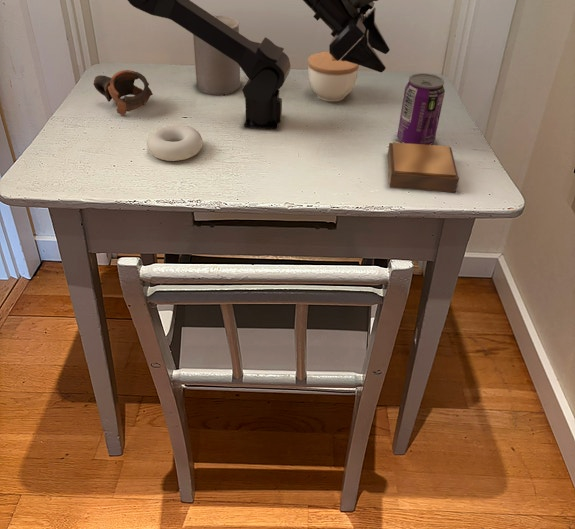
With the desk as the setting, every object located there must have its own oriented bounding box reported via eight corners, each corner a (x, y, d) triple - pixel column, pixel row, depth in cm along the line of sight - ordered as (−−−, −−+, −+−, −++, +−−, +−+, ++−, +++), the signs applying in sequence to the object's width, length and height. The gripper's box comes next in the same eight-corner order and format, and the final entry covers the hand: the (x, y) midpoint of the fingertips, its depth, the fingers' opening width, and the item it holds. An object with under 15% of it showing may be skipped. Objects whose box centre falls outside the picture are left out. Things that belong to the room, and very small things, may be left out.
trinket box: (337, 82, 129) (341, 40, 123) (365, 100, 122) (370, 56, 116) (297, 91, 125) (298, 48, 119) (323, 110, 118) (326, 65, 112)
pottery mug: (156, 97, 122) (157, 72, 114) (144, 133, 118) (144, 109, 111) (100, 81, 120) (97, 54, 113) (86, 117, 116) (82, 91, 109)
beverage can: (433, 152, 105) (447, 89, 98) (395, 147, 106) (405, 85, 99) (434, 134, 111) (446, 74, 103) (397, 130, 112) (407, 70, 104)
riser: (389, 187, 95) (392, 171, 93) (387, 155, 104) (389, 140, 102) (455, 192, 95) (459, 176, 93) (448, 159, 103) (451, 145, 101)
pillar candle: (193, 79, 129) (188, 10, 119) (236, 76, 131) (233, 7, 121) (200, 97, 121) (195, 24, 112) (245, 93, 124) (243, 21, 114)
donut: (141, 145, 105) (157, 169, 98) (138, 127, 103) (154, 151, 96) (192, 134, 109) (211, 157, 102) (190, 117, 106) (210, 139, 99)
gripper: (349, -30, 84) (419, 45, 89) (362, -55, 98) (422, 11, 103) (300, 25, 91) (368, 93, 95) (319, -6, 105) (377, 55, 109)
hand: (385, 60), depth 101 cm, fingers open, 9 cm apart
